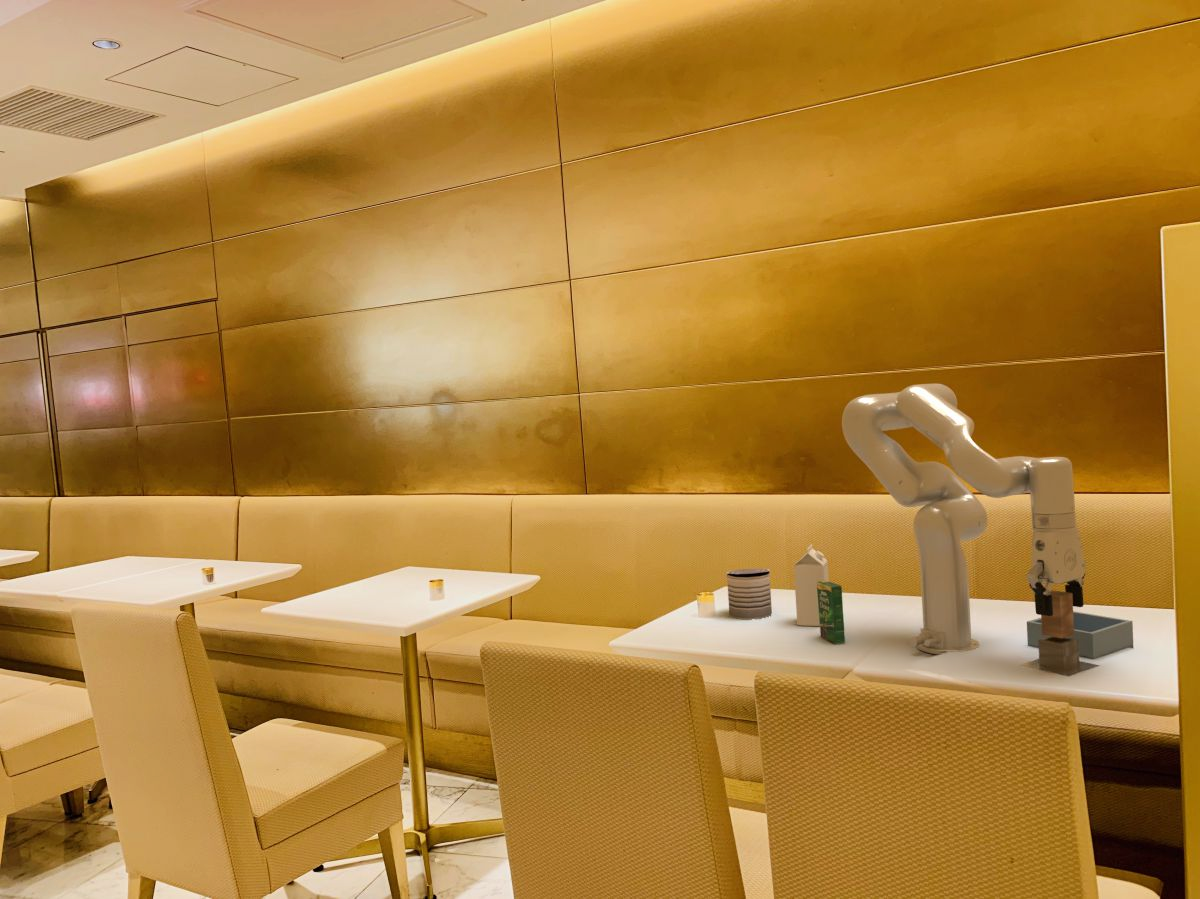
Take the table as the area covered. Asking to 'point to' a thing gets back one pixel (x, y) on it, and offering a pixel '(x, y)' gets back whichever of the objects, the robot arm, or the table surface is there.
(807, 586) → the milk carton
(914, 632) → the table surface
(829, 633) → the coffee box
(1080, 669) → the stud plate
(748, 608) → the can
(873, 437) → the robot arm
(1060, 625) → the strut
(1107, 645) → the bin
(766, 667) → the table surface
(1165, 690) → the table surface
